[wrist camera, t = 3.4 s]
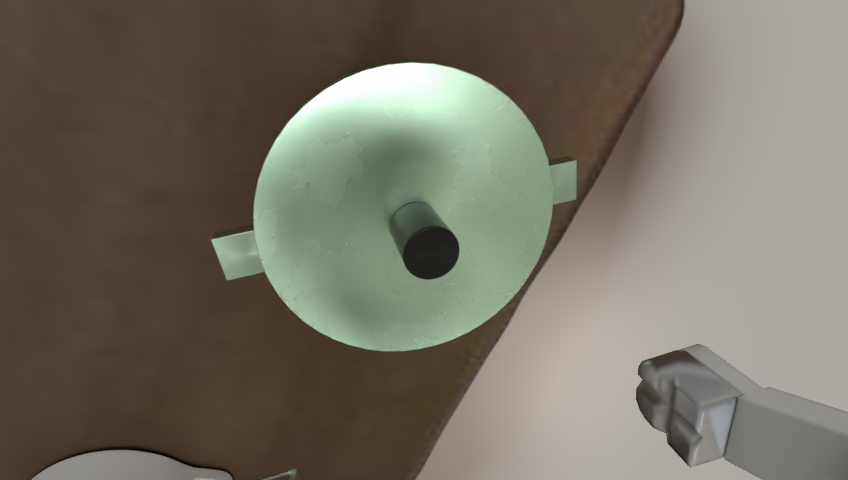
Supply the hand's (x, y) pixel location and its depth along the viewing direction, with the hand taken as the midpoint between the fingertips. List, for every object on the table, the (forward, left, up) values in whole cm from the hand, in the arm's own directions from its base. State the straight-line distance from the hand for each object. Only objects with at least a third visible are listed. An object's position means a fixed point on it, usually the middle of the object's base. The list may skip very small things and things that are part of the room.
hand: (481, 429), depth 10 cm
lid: (0, -1, -14) cm, 14 cm away
